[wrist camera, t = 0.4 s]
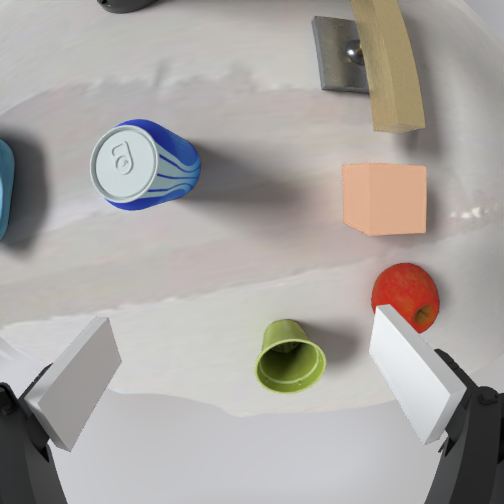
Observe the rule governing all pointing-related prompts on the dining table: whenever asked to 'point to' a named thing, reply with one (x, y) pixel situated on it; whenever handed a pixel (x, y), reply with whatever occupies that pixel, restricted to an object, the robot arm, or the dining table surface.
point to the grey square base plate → (339, 55)
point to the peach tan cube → (385, 198)
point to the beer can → (143, 165)
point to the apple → (408, 294)
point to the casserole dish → (5, 184)
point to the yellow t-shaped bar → (388, 66)
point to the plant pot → (288, 359)
